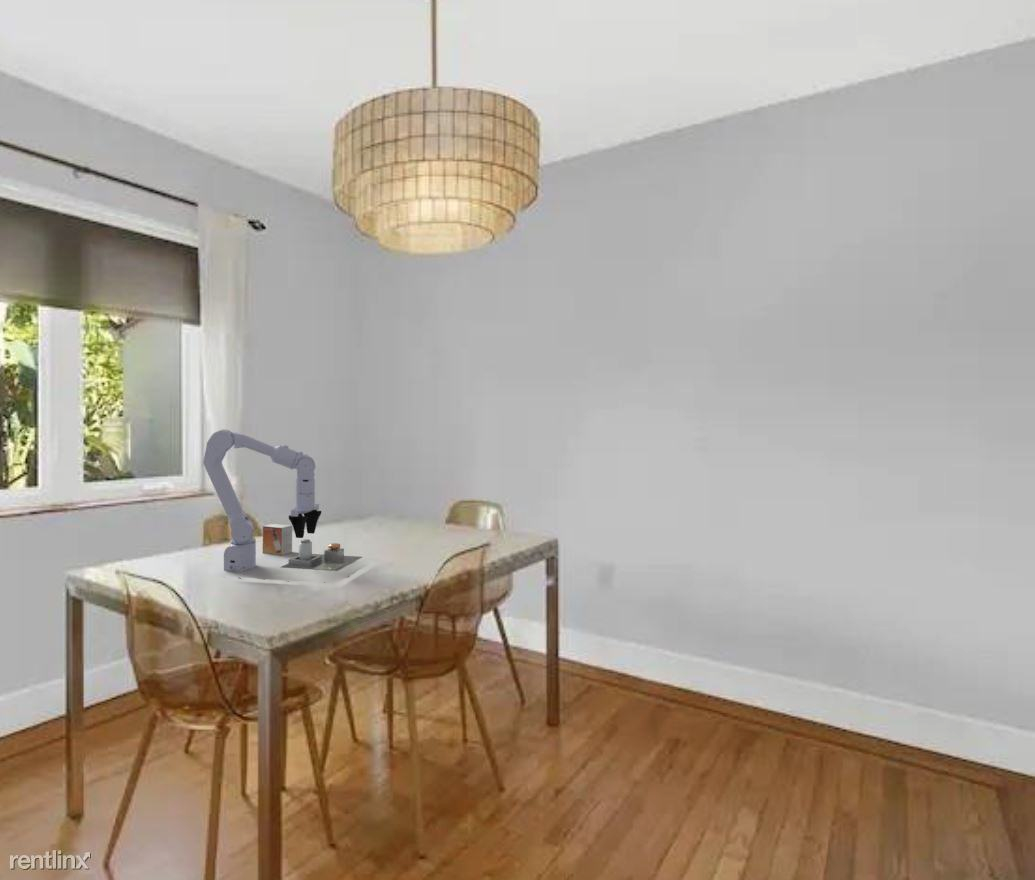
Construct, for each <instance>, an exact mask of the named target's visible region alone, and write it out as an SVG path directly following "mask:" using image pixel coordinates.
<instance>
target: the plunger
mask: <svg viewBox="0 0 1035 880" xmlns="http://www.w3.org/2000/svg"><path fill="white" fill-rule="evenodd" d="M338 548H341V543H335V542H334V543H329V544H328V545H327V549H330V551H337V550H338Z"/></svg>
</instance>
